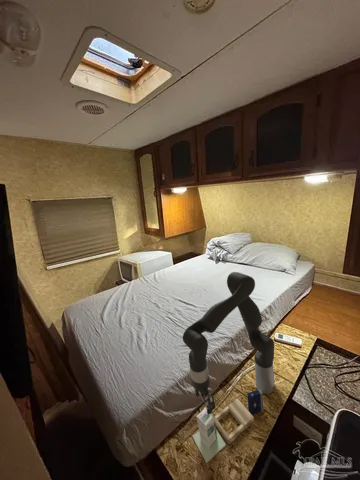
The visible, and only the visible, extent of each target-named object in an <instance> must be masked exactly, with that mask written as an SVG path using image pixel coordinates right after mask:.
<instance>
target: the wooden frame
mask: <svg viewBox="0 0 360 480" xmlns="http://www.w3.org/2000/svg"><path fill="white" fill-rule="evenodd" d="M229 413H230V414H231V415H232V417H233V418H234V419H235V421H236V422H237V424H239V426H237V427H236V428H235V429H234V430H233V431H232V432H231V433H229V434H228V433H227V432H226V430H225V429H224V428H223V426H222V424H221V423H220V421H221V420H222V419H223V418H224V417H225V416H227V415H228V414H229ZM214 418H215V425H216V429H218V432H220V435H222V437H223V438H224V441H225V442H226V443H227V444H228V445H230V444H231V443H232V442H233V441H234V440H235V439H236V438H237V437H239V435H241V434H242V432H244V431H245V430H246V429H247V428H248V427H249V426H250V425H252V423H253V422H255V418H254V415H251V413H250V412H249V411H248V409H247V408H246V406H245V405H243V403H242V402H241V401H240V400H239V398H236V399H234V400H233V401H232V402H231V403H230V404H228V405H227V406H225V407H224V408H223V409H222V410H221V411H220V412H218V413H217V414H216V415H214Z"/></svg>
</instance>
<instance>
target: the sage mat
mask: <svg viewBox="0 0 360 480" xmlns="http://www.w3.org/2000/svg"><path fill="white" fill-rule="evenodd" d="M216 432H217V441H216V442H215V444H214V445H213V446H212V447H211V449H210V450H209V449H208V448H207V447H206V446H205V444H204V443H203V442H202V441H201V439H200V434H199V430H198V431H197V432H195V433H194V434H193V435H192V439H193V441H194V442H195V444H196V446H197V448H198V451H199V452H200V453H201V455H202V458H203V460H204V462H205V463H206V464H207V463H209V462H210V461H211V459H213V458H214V457H215V456H216V455H217V454H218V453H219V452H220V451H221V450H222V449H224V448H225V447H226V446H227V444H226V441H225V439H223V438H222V437H223V436H221V433H219V430H217V429H216Z"/></svg>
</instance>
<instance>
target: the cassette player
mask: <svg viewBox="0 0 360 480" xmlns="http://www.w3.org/2000/svg"><path fill="white" fill-rule="evenodd" d="M247 408H248V409H247V410H248V411H249V412H250V413H251V415H252V416H254V415H257V414H259V413H262V412H264V410H265V409H264V393H263V392H262V390H261V389H256V390H255V389H254V390H253V391H252V390H251V391H250V392H248V393H247Z"/></svg>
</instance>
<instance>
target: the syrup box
mask: <svg viewBox="0 0 360 480" xmlns="http://www.w3.org/2000/svg"><path fill="white" fill-rule="evenodd" d="M214 417H215V415H214V414H213V412H212V413H211V414H209V415H208V413H207V408H206V406H204V408H203V409H202V410H200V412H199V413H198V414H197V415H196V421H197V425H198V431H199V434H200V439H201V441H202V442H203V443H204V444H205V446H206V447H207V448H208V449H209V450H210V449H211V447H212V446H213V445H214V444H215V442H216V441H217V432H216V430H217V426H216V425H215V418H214Z"/></svg>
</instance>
